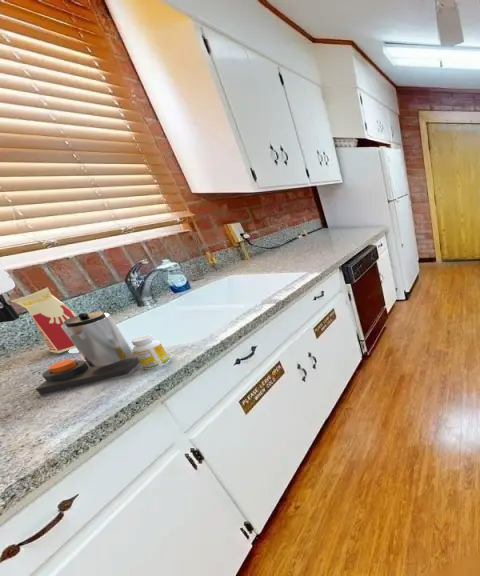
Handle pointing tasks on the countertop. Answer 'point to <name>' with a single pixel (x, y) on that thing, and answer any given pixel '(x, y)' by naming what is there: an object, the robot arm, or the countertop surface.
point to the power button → (62, 366)
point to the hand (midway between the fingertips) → (7, 320)
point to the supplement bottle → (149, 352)
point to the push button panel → (85, 374)
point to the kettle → (97, 338)
